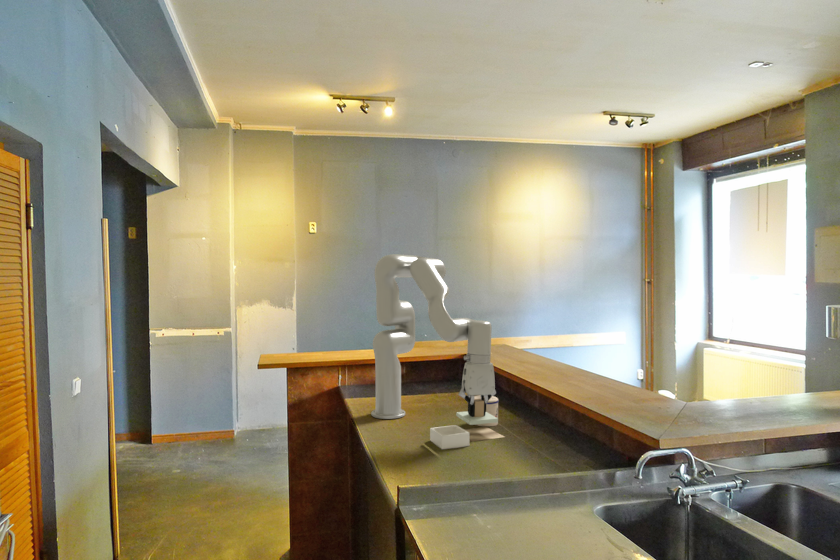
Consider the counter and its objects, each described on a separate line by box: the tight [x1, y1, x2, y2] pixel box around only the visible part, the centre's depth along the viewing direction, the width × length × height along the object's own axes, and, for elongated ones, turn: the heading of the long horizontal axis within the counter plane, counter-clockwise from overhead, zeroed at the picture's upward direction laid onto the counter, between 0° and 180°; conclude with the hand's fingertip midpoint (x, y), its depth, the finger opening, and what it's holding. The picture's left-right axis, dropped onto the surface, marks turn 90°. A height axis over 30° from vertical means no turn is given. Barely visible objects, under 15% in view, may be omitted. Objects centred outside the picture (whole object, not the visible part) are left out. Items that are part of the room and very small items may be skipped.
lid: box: [455, 399, 499, 426], centre depth 167 cm, size 10×10×6 cm
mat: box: [464, 426, 505, 442], centre depth 166 cm, size 12×12×1 cm
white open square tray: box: [429, 424, 470, 450], centre depth 157 cm, size 9×9×4 cm
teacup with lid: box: [474, 395, 499, 427], centre depth 181 cm, size 12×9×12 cm
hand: (476, 414), depth 167 cm, fingers closed on lid, 3 cm apart
